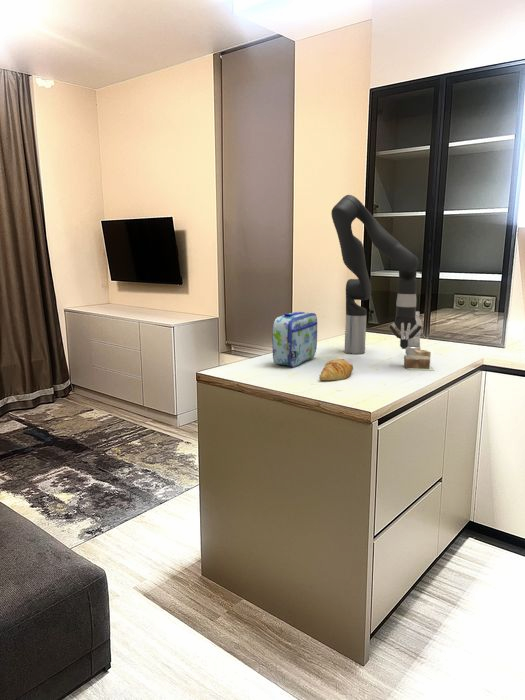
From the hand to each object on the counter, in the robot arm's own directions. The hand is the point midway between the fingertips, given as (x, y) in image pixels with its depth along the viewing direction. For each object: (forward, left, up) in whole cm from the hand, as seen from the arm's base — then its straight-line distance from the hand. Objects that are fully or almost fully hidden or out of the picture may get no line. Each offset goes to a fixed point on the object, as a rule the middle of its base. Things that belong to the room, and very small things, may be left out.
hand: (403, 348), depth 208 cm
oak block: (+9, +10, -8) cm, 15 cm away
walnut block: (+1, 0, -5) cm, 5 cm away
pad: (+6, 0, -8) cm, 10 cm away
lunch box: (-43, +2, -8) cm, 44 cm away
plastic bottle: (+7, +22, -8) cm, 24 cm away
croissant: (-27, -21, -8) cm, 35 cm away
